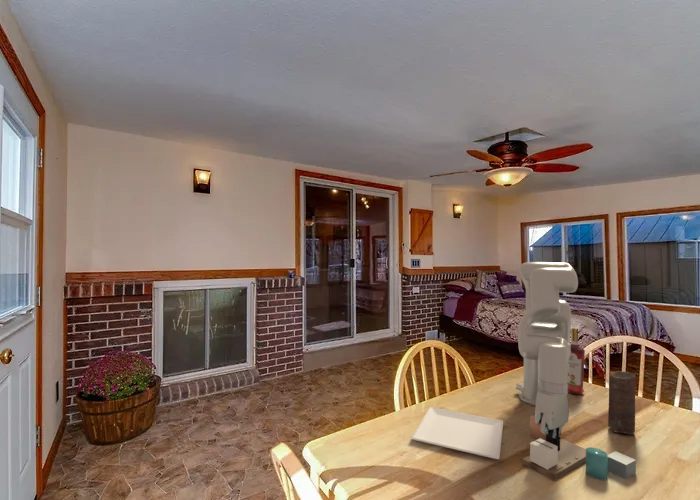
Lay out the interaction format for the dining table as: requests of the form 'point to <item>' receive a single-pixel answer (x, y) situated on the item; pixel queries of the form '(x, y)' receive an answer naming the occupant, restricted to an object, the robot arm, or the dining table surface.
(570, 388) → the liquor
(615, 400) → the candle
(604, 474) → the teal rounded cylinder
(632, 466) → the slate box
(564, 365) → the robot arm
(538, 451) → the slider
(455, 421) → the plate
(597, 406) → the dining table surface
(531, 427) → the peach domed cylinder
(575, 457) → the rail
